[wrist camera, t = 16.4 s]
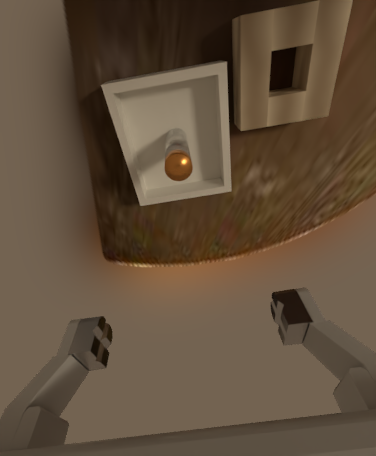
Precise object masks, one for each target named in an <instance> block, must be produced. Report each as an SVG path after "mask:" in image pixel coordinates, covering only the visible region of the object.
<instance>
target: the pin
mask: <svg viewBox="0 0 376 456" xmlns="http://www.w3.org/2000/svg"><path fill="white" fill-rule="evenodd" d="M192 170H193V166H192V161H191V156H190V151H189V146H188V141H187V137H186V134H185V132H184V131H183V130H181V129H179V128H173V129H171V130H169V131H168V133H167V134H166V138H165V173H166V175H167V176H168V177H169V178H170V179H172V180H174V181H183V180H185V179H187V178H188V177H189V176H190V175H191V173H192Z"/></svg>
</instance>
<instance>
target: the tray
mask: <svg viewBox="0 0 376 456" xmlns="http://www.w3.org/2000/svg"><path fill="white" fill-rule="evenodd" d="M101 87H102V90H103V93H104V96H105V99H106V102H107V105H108V108H109V111H110V114H111V117H112V120H113V123H114V126H115V130H116V133H117V136H118V139H119V142H120V145H121V148H122V151H123V154H124V157H125V160H126V163H127V166H128V169H129V172H130V175H131V178H132V181H133V184H134V187H135V191H136V194H137V197H138V200H139V203H140V206H143V205H150V204H156V203H162V202H168V201H174V200H180V199H187V198H193V197H199V196H205V195H211V194H217V193H224V192H230V191H231V166H230V137H229V108H228V79H227V62H226V61H221V60H220V61H215V62H209V63H204V64H198V65H193V66H188V67H182V68H177V69H171V70H166V71H161V72H155V73H150V74H145V75H139V76H134V77H128V78H123V79H118V80H112V81H108V82H106V83H104V84H102V85H101ZM173 128H179V129H181V130H183V131H184V132H185V134H186V137H187V141H188V146H189V151H190V156H191V161H192V166H193V170H192V173H191V175H190V176H189V177H188V178H187V179H185V180H183V181H174V180H172V179H170V178H169V177H168V176H167V175H166V173H165V138H166V134H167V133H168V131H169V130H171V129H173Z"/></svg>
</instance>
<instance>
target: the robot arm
mask: <svg viewBox="0 0 376 456" xmlns="http://www.w3.org/2000/svg"><path fill="white" fill-rule="evenodd" d="M272 299H273V301H272V302H271V313H272V316H273V319H274V321H275V323H277V324H278V325H279V329H278V332H279V335H280V337H281V340H282V342H283V345H292V344H302V343H303V345H304V346H305V347H306V348H307V349H308V350H309V351H310V352H311V353H312V354H313V355H314V356H315V357H316V358H317V359H318V360H319V361H320V362H321V363H322V364H323V365H324V366H325V367H326V368H327V369H329V370H330V371H331V372H332V373H333V374H334V375H335V376H336V377H337V378H338V379H339V380H340V383H339V384H338V386H337V387H336V388H335V390H334V392H333V395H334V397H335V399H336V401H337V403H338V406H339V408H340V410H341V412H342V413H336V414H327V415H318V416H309V417H300V418H292V419H284V420H275V421H266V422H257V423H248V424H239V425H230V426H222V427H214V428H205V429H196V430H187V431H179V432H170V433H161V434H152V435H144V436H134V437H126V438H117V439H108V440H99V441H91V442H82V443H73V444H64V442H65V438H66V435H67V431H68V426H69V423H68V422H67V421H66V420H64V419H62V418H60V417H59V416H60V415H61V413H62V412H63V410H64V409H65V407H66V406H67V404H68V403H69V401H70V400H71V398H72V397H73V395H74V394H75V392H76V391H77V389H78V388H79V386H80V385H81V383H82V382H83V380H84V379H85V377H86V376H87V374H88V373H89V371H91V370H98V369H104V368H106V367H107V362H108V357H109V352H108V350H107V348H108V347H109V346H110V345H111V342H112V329H111V326H110V325H109V324H107V323H105V322H106V319H105V318H104V317H103V316H100V317H93V318H85V319H77V320H72V321H70V323H69V324H68V326H67V329H66V332H65V334H64V337H63V340H62V342H61V345H60V347H59V350H58V353H57V356H55V357H53V358H52V359H51V360H50V361H49V362H48V363H47V364H46V365H45V366H44V367H43V368H42V370H41V371H40V372H39V373H38V374H37V375H36V376H35V377H34V378H33V379H32V380H31V381H30V383H29V384H28V385H27V386H26V387H25V388H24V389H23V390H22V391H21V392H20V393H19V395H18V396H17V397H16V398H15V399H14V400H13V401H12V402H11V403H10V404H9V405H8V406H7V408H6V409H5V410H4V413H3V415H2V417H1V419H0V456H376V353H375V352H374V351H372V350H371V349H370V348H368V347H367V346H365V345H364V344H362V343H361V342H359V341H358V340H357V339H355V338H354V337H352V336H351V335H350V334H348V333H347V332H345V331H344V330H343V329H341V328H340V327H338V326H337V325H335V324H334V323H333V322H331V321H326V320H325V318H324V316H323V314H322V313H321V311H320V309H319V307H318V306H317V304H316V302H315V301H314V299H313V297H312V295H311V294H310V292H309V290H308V289H306V288H300V289H291V290H284V291H279V292H273V293H272Z"/></svg>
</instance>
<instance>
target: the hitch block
mask: <svg viewBox="0 0 376 456" xmlns="http://www.w3.org/2000/svg"><path fill="white" fill-rule="evenodd" d="M352 1H353V0H318V1H313V2H308V3H303V4H298V5H292V6H287V7H282V8H277V9H272V10H266V11H261V12H256V13H251V14H246V15H241V16H238V17H236V18H234V19H232V52H233V97H234V124H235V125H236V126H237V127H238V128H239V129H240V131H245V130H251V129H257V128H263V127H268V126H274V125H280V124H286V123H292V122H297V121H303V120H309V119H315V118H321V117H326V116H328V114H329V110H330V105H331V100H332V95H333V91H334V86H335V81H336V77H337V72H338V67H339V63H340V58H341V53H342V48H343V44H344V39H345V34H346V30H347V25H348V20H349V16H350V11H351V6H352ZM291 47H296V54H295V63H294V72H293V81H292V87H287V88H282V89H276V90H270V91H269V84H270V68H271V52H272V51H275V50H281V49H286V48H291Z"/></svg>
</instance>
